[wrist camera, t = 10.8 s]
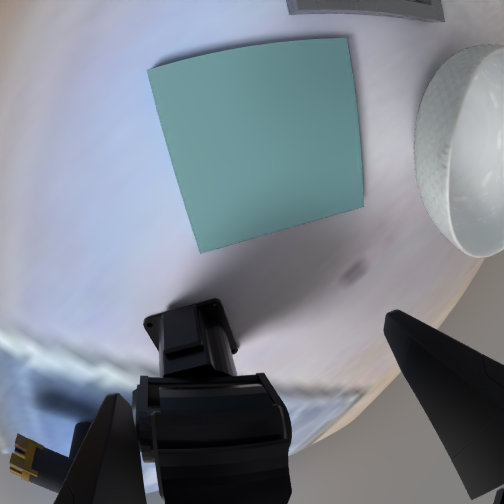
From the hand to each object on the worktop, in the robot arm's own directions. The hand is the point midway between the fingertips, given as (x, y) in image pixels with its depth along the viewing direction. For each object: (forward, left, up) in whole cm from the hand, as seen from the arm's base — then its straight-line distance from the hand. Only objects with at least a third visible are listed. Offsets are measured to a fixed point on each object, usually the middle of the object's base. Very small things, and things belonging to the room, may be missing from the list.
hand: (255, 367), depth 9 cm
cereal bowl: (+1, -22, -13) cm, 26 cm away
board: (+3, -5, -13) cm, 14 cm away
